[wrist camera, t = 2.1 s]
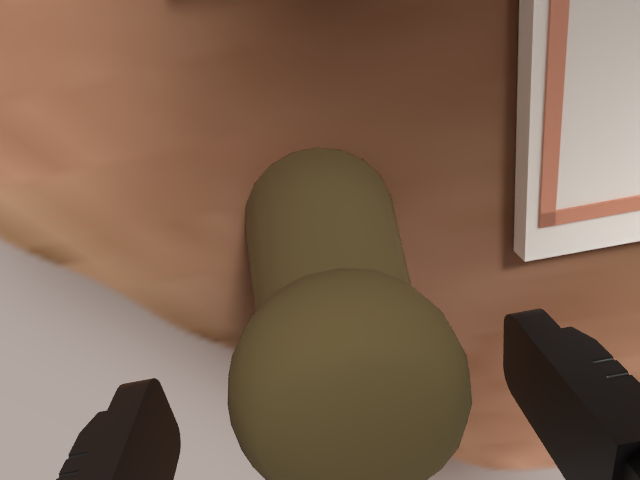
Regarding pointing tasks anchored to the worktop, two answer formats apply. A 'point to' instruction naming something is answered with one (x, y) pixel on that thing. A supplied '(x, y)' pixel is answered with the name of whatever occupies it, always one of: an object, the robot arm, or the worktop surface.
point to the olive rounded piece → (340, 335)
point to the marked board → (577, 126)
